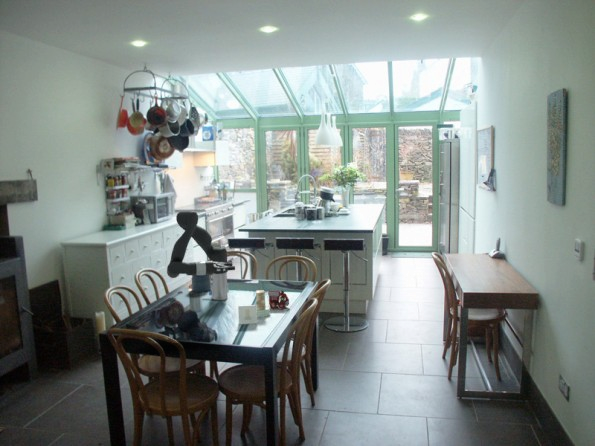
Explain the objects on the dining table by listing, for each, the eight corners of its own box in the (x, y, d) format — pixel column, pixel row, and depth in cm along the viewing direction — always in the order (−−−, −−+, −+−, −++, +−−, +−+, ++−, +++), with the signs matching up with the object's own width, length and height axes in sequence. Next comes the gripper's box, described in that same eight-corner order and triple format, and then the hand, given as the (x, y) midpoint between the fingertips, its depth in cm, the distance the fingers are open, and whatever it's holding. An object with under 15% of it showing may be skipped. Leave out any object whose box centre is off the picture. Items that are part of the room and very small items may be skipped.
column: (257, 309, 282) (256, 292, 281) (256, 307, 287) (256, 290, 285) (265, 309, 283) (264, 292, 282) (264, 306, 288) (263, 290, 286)
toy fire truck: (287, 309, 294) (287, 292, 293) (267, 309, 296) (266, 292, 294) (289, 306, 301) (289, 289, 299) (269, 305, 303) (269, 289, 301)
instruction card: (238, 324, 269) (238, 306, 268) (238, 322, 272) (238, 304, 271) (257, 323, 270) (256, 305, 269) (257, 321, 273) (256, 304, 272)
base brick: (257, 318, 280) (257, 311, 280) (251, 314, 287) (251, 307, 286) (270, 315, 284) (270, 308, 284) (263, 312, 291) (263, 305, 291)
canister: (195, 287, 349) (194, 262, 346) (213, 287, 347) (212, 262, 345) (189, 292, 336) (187, 266, 334) (207, 292, 334) (206, 267, 332)
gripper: (205, 264, 266) (235, 262, 271) (202, 258, 279) (231, 257, 284) (206, 277, 267) (236, 275, 272) (203, 271, 280) (231, 270, 285)
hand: (233, 266), depth 278 cm, fingers open, 8 cm apart
